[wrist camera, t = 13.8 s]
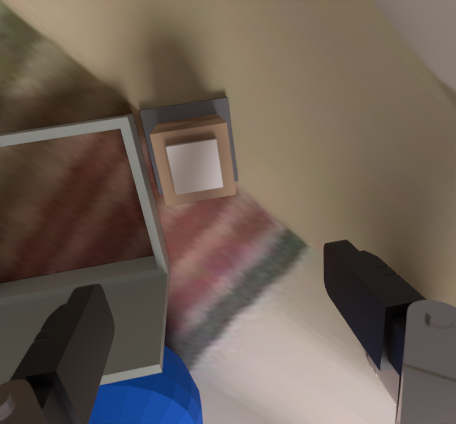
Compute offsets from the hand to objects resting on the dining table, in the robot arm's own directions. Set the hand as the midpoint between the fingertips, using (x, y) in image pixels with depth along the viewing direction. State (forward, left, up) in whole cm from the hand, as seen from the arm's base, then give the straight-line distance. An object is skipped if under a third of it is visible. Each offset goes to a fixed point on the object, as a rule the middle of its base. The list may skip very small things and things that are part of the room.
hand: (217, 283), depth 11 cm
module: (0, -1, -20) cm, 20 cm away
